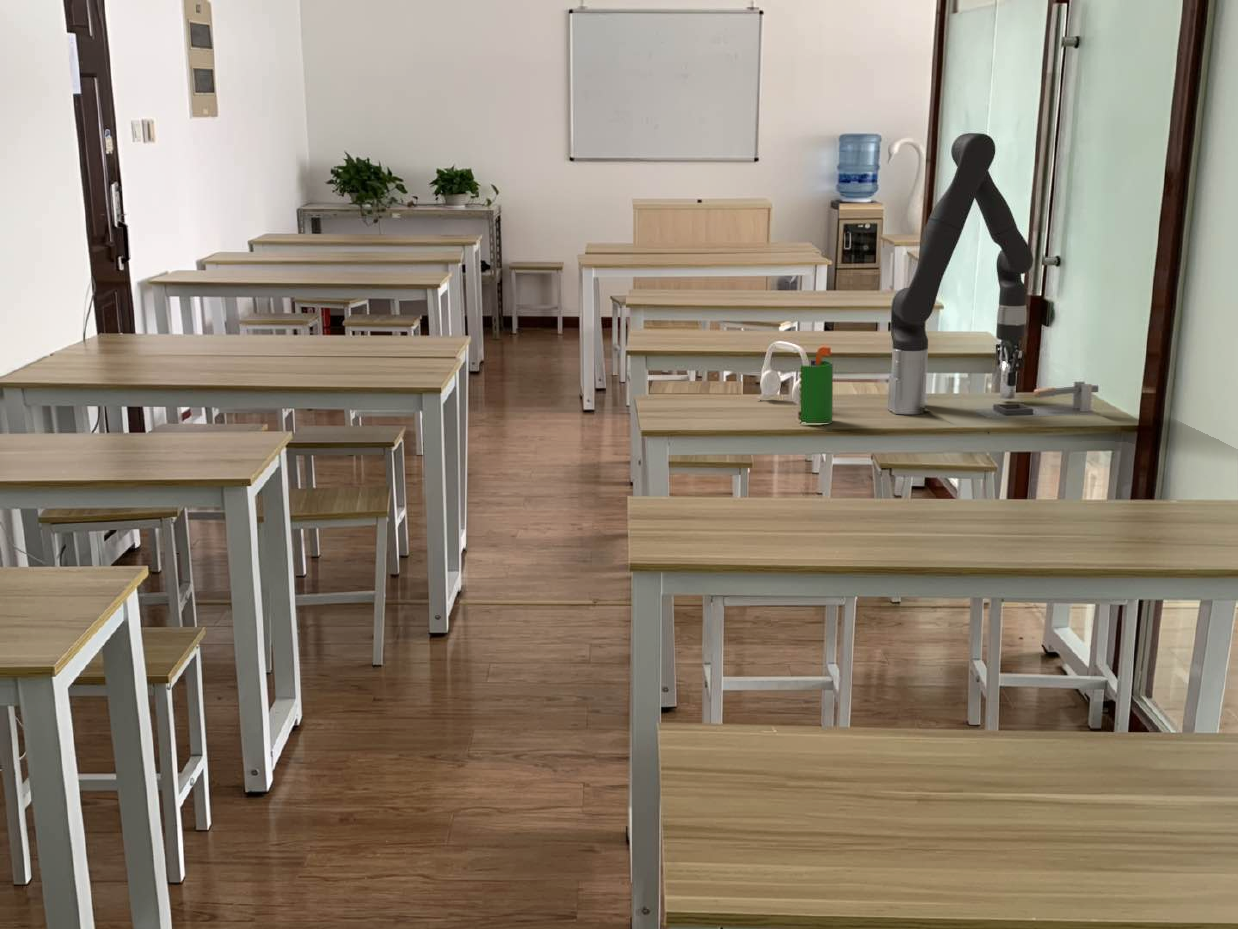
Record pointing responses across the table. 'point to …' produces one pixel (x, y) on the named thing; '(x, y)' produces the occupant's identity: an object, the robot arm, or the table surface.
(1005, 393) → the translucent white cylinder
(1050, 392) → the lever
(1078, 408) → the grey flat base
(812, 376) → the green cup with straw
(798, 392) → the headset
